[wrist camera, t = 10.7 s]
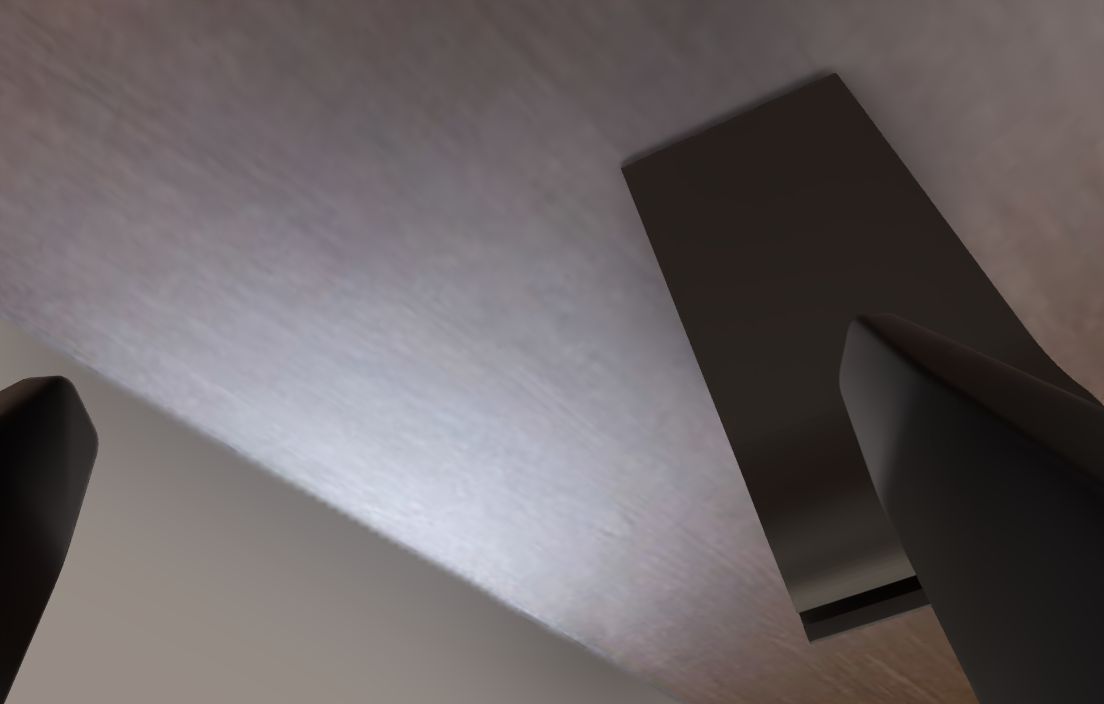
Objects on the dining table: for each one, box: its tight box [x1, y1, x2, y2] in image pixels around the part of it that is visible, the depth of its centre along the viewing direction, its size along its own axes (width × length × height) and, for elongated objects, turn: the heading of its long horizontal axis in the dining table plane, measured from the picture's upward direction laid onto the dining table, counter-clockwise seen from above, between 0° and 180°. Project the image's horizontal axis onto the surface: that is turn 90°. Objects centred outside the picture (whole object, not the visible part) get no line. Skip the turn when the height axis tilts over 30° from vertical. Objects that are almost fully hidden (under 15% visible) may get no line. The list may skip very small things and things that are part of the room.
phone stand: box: [621, 73, 1104, 644], centre depth 18 cm, size 9×6×12 cm, turn 24°
